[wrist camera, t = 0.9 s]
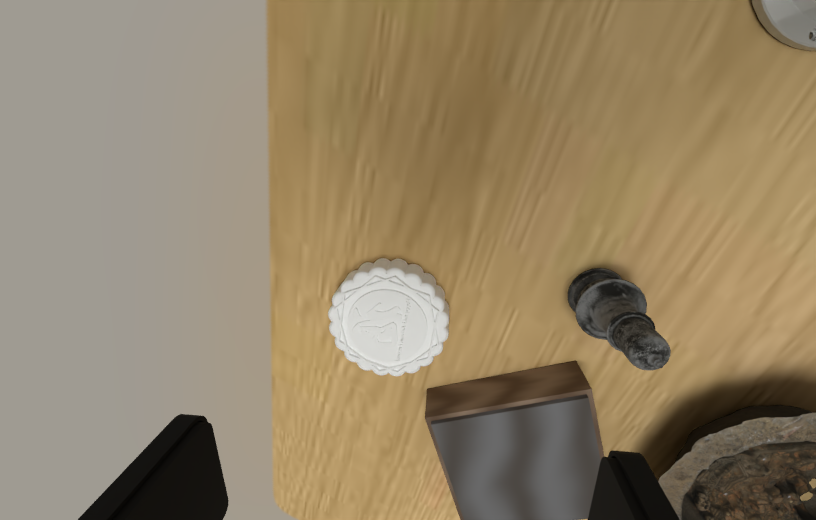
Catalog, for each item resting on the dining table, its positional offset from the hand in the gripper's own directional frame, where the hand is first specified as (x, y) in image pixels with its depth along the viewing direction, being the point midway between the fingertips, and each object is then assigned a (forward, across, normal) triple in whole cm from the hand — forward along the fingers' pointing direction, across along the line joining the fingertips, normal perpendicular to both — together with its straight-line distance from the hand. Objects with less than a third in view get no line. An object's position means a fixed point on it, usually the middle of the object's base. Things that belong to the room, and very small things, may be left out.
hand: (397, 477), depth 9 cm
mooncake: (+29, +5, +10) cm, 31 cm away
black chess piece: (+29, -15, +7) cm, 33 cm away
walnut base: (+28, -9, +25) cm, 39 cm away
